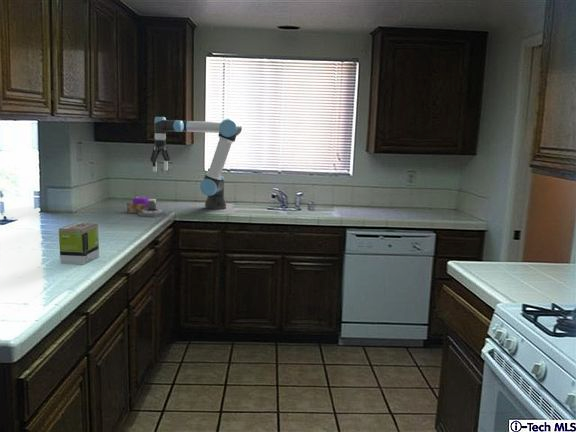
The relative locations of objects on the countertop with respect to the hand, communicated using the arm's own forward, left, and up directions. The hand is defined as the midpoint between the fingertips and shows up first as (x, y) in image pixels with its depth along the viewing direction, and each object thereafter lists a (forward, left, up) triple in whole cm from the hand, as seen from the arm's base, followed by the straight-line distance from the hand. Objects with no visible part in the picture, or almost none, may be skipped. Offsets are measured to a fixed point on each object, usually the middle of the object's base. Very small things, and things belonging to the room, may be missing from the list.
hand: (160, 170), depth 375 cm
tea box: (-63, +143, -26) cm, 159 cm away
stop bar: (-1, +28, -26) cm, 38 cm away
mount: (-15, +30, -26) cm, 43 cm away
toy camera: (-1, +21, -26) cm, 33 cm away
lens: (-15, +30, -24) cm, 41 cm away
